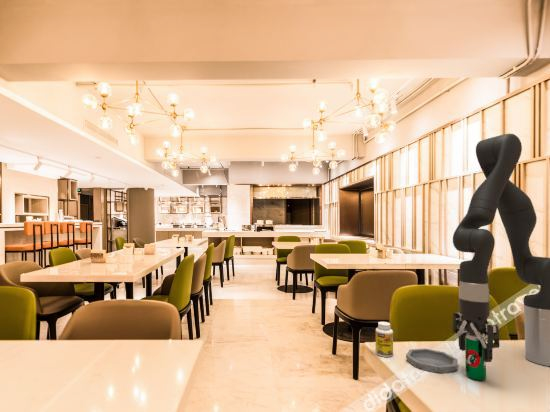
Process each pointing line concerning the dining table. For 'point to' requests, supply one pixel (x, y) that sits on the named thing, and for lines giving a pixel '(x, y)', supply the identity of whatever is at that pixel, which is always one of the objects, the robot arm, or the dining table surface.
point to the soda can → (474, 358)
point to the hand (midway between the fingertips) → (474, 355)
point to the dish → (432, 360)
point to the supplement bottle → (384, 339)
